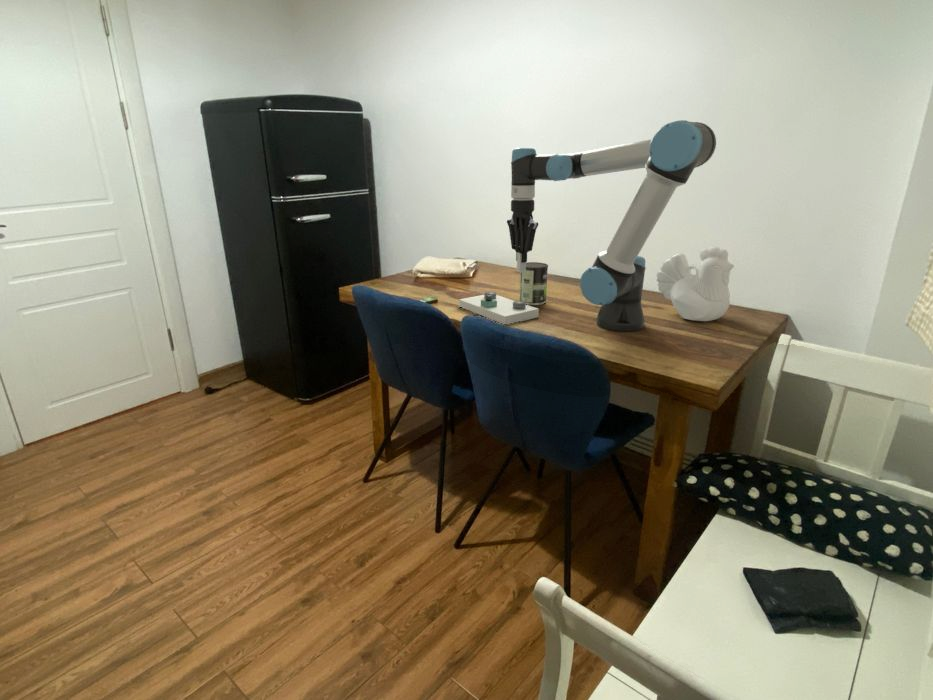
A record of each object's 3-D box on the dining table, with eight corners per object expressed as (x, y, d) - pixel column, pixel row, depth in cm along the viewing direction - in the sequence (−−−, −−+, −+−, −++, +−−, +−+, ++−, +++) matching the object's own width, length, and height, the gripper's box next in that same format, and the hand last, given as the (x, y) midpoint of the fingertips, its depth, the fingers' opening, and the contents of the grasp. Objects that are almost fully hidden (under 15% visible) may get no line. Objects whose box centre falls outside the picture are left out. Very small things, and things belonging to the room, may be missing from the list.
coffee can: (547, 298, 210) (548, 262, 205) (545, 306, 200) (547, 268, 195) (520, 297, 212) (521, 261, 207) (517, 304, 202) (518, 267, 197)
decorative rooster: (736, 321, 182) (749, 247, 173) (706, 329, 174) (718, 252, 166) (674, 304, 202) (684, 236, 193) (645, 310, 194) (653, 240, 186)
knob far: (498, 305, 200) (498, 293, 198) (489, 307, 198) (489, 295, 196) (491, 303, 203) (491, 291, 202) (481, 305, 201) (481, 292, 199)
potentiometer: (496, 306, 189) (497, 296, 188) (487, 308, 187) (487, 297, 186) (489, 303, 192) (489, 293, 191) (480, 305, 190) (480, 295, 189)
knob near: (527, 316, 188) (528, 303, 186) (518, 318, 186) (518, 305, 184) (519, 313, 191) (519, 300, 190) (509, 315, 189) (510, 302, 187)
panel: (538, 317, 187) (538, 308, 186) (504, 325, 179) (505, 316, 178) (491, 300, 207) (491, 293, 206) (459, 307, 199) (459, 299, 197)
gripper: (500, 198, 178) (500, 270, 186) (527, 201, 168) (526, 276, 176) (518, 197, 182) (516, 267, 190) (545, 199, 172) (542, 273, 180)
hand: (521, 271), depth 183 cm, fingers closed
